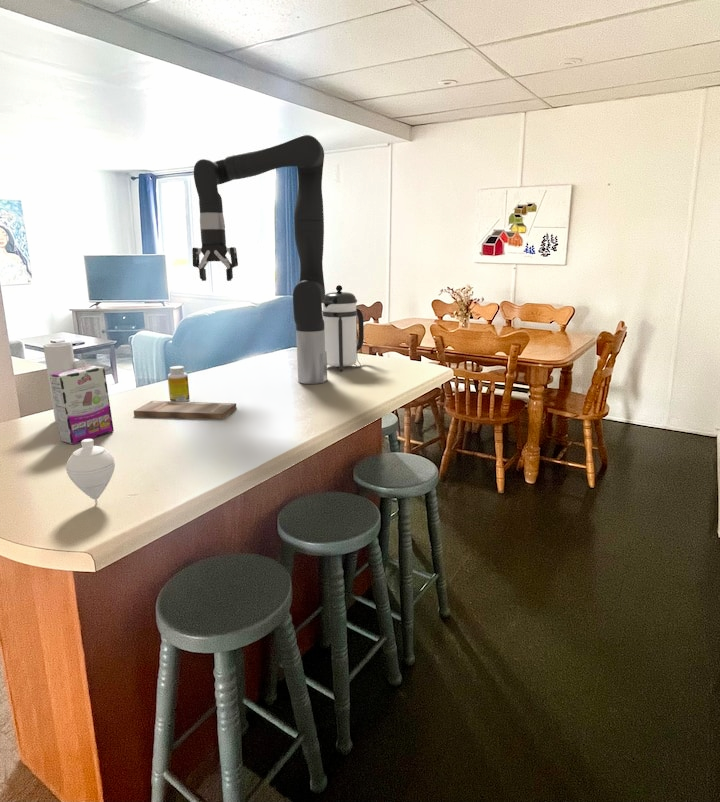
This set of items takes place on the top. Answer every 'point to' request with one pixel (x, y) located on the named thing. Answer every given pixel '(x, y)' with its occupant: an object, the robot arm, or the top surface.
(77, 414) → the candy bar box
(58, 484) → the top surface
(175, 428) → the top surface
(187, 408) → the walnut board
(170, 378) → the supplement bottle
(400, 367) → the top surface
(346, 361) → the coffee press
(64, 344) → the vase
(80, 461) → the spinning top
